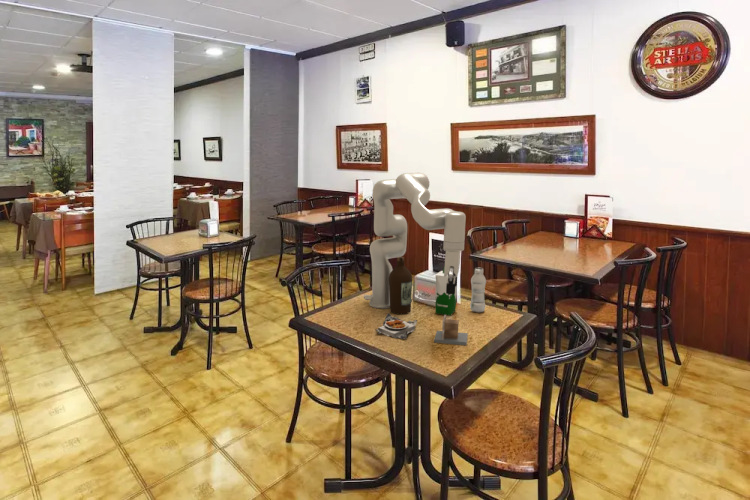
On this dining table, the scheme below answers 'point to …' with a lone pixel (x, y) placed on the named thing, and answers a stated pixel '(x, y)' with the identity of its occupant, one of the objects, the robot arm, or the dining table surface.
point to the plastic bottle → (478, 291)
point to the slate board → (451, 339)
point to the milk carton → (444, 296)
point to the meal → (396, 327)
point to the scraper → (449, 328)
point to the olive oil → (400, 288)
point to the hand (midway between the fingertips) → (451, 289)
